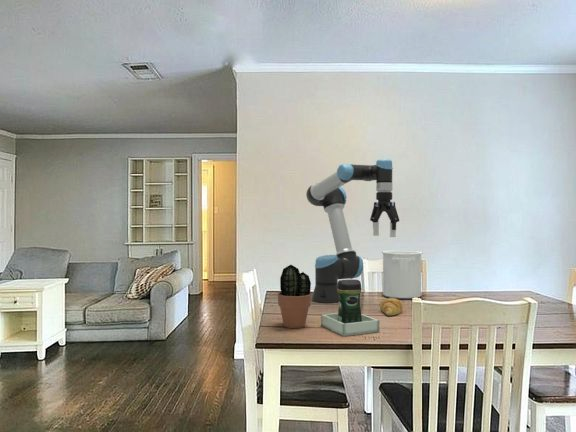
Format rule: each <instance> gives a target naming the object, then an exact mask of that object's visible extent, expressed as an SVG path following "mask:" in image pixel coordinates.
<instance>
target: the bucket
mask: <svg viewBox="0 0 576 432" xmlns="http://www.w3.org/2000/svg"><path fill="white" fill-rule="evenodd" d="M381 254H382V268H383V269H382V294H383V296H384V297H385V298H386V299H388V298H396V299H398V300H401V301H403V300H406V301H407V300H410V301H411V300H413V299H412V298H414V297H418V299H419V298H421V296H422V254H423V252H422V251H417V250H401V249H400V250H398V249H395V250H393V249H391V250H383V251H381Z"/></svg>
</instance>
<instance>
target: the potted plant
mask: <svg viewBox="0 0 576 432" xmlns="http://www.w3.org/2000/svg"><path fill="white" fill-rule="evenodd" d="M279 280H280V281H279V282H280V283H279V284H280V289H279V290H280V292H278V293H277V302H278V303H277V304H278V306H279V308H280V314H281V319H282V324H283V326H284V327H285V328H289V329H301V328H304V327H305V326H306V324H307V323H306V322H307V319H308V318H307V317H308V314H309V313H308V312H309V307H310V306H311V303H312V293H311V288H312V287H311V285H312V282H311V279H310V275H308V274H306V273H305V272H304V271H302V272H300V269H299V268H297V267H296V266H294V265H293V264H289V265H287V266H286V267H284V268H283V269H282V271H281V275H280V278H279Z"/></svg>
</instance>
